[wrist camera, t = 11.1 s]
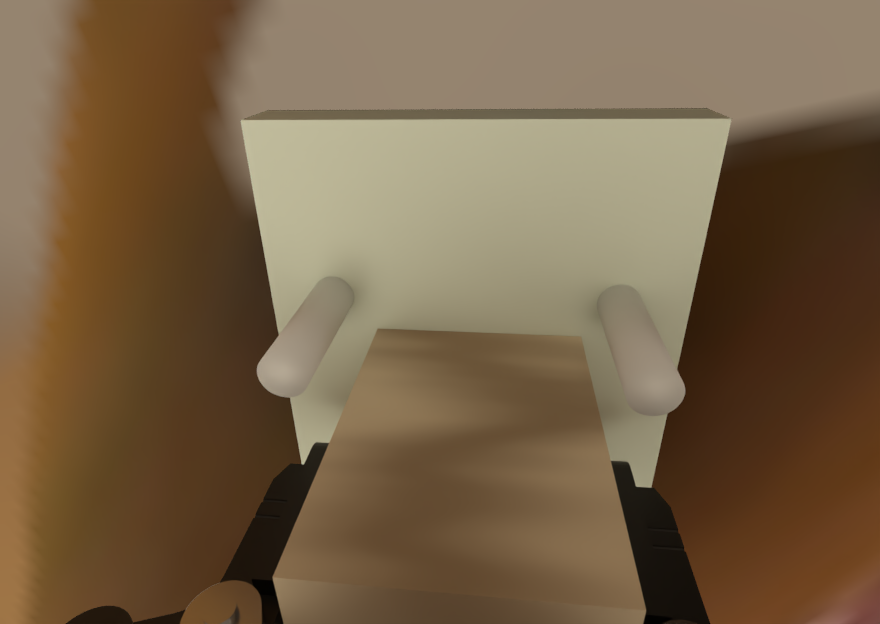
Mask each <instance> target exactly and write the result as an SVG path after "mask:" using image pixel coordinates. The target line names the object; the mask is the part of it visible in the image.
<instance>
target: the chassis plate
mask: <svg viewBox="0 0 880 624" xmlns="http://www.w3.org/2000/svg"><path fill="white" fill-rule="evenodd" d="M731 120H732V119H731V118H729V117H727V116H724V115H722V114H719V113H716V112H715V111H712V110H710V109H707V108H676V109H675V108H668V109H667V108H665V109H481V110H480V109H476V110H475V109H473V110H472V109H466V110H463V109H461V110H459V109H458V110H267V111H265V112H262V113H259V114H256V115H253V116H250V117H248V118H245V119H242V120H240V121H241V126H242V132H243V138H244V143H245V149H246V154H247V160H248V165H249V171H250V177H251V182H252V188H253V193H254V199H255V205H256V210H257V216H258V221H259V227H260V233H261V238H262V244H263V249H264V255H265V261H266V266H267V272H268V277H269V283H270V289H271V294H272V300H273V305H274V311H275V317H276V322H277V328H278V333H279V336H278V337H277V339H276V340H275V341H274V343H273V344H272V345H271V347H270V348H269V349H268V351H267V352H266V354H265V355H264V356H263V358H262V359H261V360H260V362H259V364H258V366H257V375H258V378H259V381H260V382H261V384H262V385H263V386H264V387H265V388H266V389H267V390H268V391H269V392H271V393H273V394H275V395H277V396H281V397H290V401H291V406H292V412H293V417H294V423H295V429H296V434H297V440H298V445H299V451H300V457H301V462H302V464H304V463H305V461H306V459H307V457H308V455H309V452H310V450H311V448H312V446H313V445H314V443H316V442H322V443H329V442H330V440H331V438H332V435H333V433H334V431H335V428H336V426H337V423H338V421H339V419H340V416H341V414H342V412H343V409H344V407H345V405H346V402H347V400H348V397H349V395H350V393H351V390H352V388H353V386H354V383H355V381H356V379H357V376H358V374H359V371H360V369H361V367H362V364H363V362H364V360H365V357H366V355H367V353H368V350H369V348H370V345H371V343H372V341H373V338H374V336H375V334H376V331H377V329H401V330H427V331H452V332H478V333H503V334H529V335H554V336H580V337H581V338H582V342H583V346H584V351H585V355H586V359H587V363H588V367H589V372H590V376H591V380H592V384H593V388H594V393H595V397H596V401H597V405H598V409H599V414H600V418H601V422H602V426H603V430H604V435H605V439H606V443H607V447H608V451H609V456H610V460H611V461H626V462H628V463H629V464H630V467H631V470H632V474H633V478H634V481H635V485H636V487H648V488H651V487H652V482H653V478H654V473H655V468H656V464H657V459H658V455H659V450H660V445H661V441H662V436H663V432H664V427H665V423H666V418H667V413H669V412H671V411H673V410H674V409H676V408H677V407H678V406H679V405H680V404H681V402H682V401H683V399H684V396H685V386H684V383H683V381H682V379H681V377H680V375H679V373H678V371H677V367H678V363H679V358H680V354H681V349H682V345H683V340H684V335H685V331H686V326H687V322H688V317H689V312H690V308H691V303H692V299H693V294H694V289H695V285H696V280H697V276H698V271H699V267H700V262H701V257H702V253H703V248H704V244H705V239H706V234H707V230H708V225H709V221H710V216H711V212H712V207H713V202H714V198H715V193H716V189H717V184H718V179H719V175H720V170H721V166H722V161H723V156H724V152H725V147H726V143H727V138H728V134H729V129H730V124H731Z"/></svg>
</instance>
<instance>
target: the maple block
mask: <svg viewBox="0 0 880 624" xmlns="http://www.w3.org/2000/svg"><path fill="white" fill-rule="evenodd" d="M272 578H273V582H274V586H275V590H276V594H277V599H278V603H279V607H280V611H281V615H282V619H283V623H284V624H643V622H644V618H645V614H646V607H645V603H644V598H643V594H642V590H641V586H640V582H639V577H638V573H637V569H636V565H635V561H634V556H633V552H632V548H631V544H630V540H629V535H628V531H627V527H626V523H625V519H624V514H623V510H622V506H621V502H620V498H619V493H618V489H617V485H616V481H615V477H614V472H613V468H612V464H611V460H610V456H609V451H608V447H607V443H606V439H605V435H604V430H603V426H602V422H601V418H600V414H599V409H598V405H597V401H596V397H595V393H594V388H593V384H592V380H591V376H590V372H589V367H588V363H587V359H586V355H585V351H584V346H583V342H582V338H581V337H580V336H554V335H529V334H503V333H478V332H452V331H427V330H401V329H377V331H376V334H375V336H374V338H373V341H372V343H371V345H370V348H369V350H368V353H367V355H366V357H365V360H364V362H363V364H362V367H361V369H360V371H359V374H358V376H357V379H356V381H355V383H354V386H353V388H352V390H351V393H350V395H349V397H348V400H347V402H346V405H345V407H344V409H343V412H342V414H341V416H340V419H339V421H338V423H337V426H336V428H335V431H334V433H333V435H332V438H331V440H330V442H329V445H328V447H327V450H326V452H325V454H324V457H323V459H322V461H321V464H320V466H319V468H318V471H317V473H316V476H315V478H314V480H313V483H312V485H311V487H310V490H309V492H308V494H307V497H306V499H305V502H304V504H303V506H302V509H301V511H300V513H299V516H298V518H297V520H296V523H295V525H294V528H293V530H292V532H291V535H290V537H289V539H288V542H287V544H286V547H285V549H284V551H283V554H282V556H281V558H280V561H279V563H278V565H277V568H276V570H275V573H274V575H273V577H272Z"/></svg>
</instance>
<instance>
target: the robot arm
mask: <svg viewBox="0 0 880 624" xmlns="http://www.w3.org/2000/svg"><path fill="white" fill-rule="evenodd" d="M328 445H329V443H322V442H316V443H314V445H313V446H312V448H311V450H310V452H309V455H308V457H307V459H306V461H305V463H304V464H290V465H288V466H287V467H286V468H285V469H284V470H283V471H282V472H281V473H280V474H279V475H278V476H277V477H276V478H274V479H273V481H272V483H271V485H270V487H269V489H268V491H267V493H266V495H265V497H264V501H263V502H262V503H261V505H260V506H259V508H258V510H257V512H256V516H255V518H253V520H252V522H251V524H250V526H249V528H248V530H247V532H246V534H245V536H244V538H243V540H242V542H241V543H240V545H239V547H238V549H237V551H236V553H235V555H234V557H233V559H232V561H231V563H230V565H229V567H228V569H227V571H226V573H225V575H224V577H223V578H222V580H221V582H220V583H218V584H215V585H213V586H211V587H209V588H208V589H206V590H204V591H203V592H202V593H200V594H199V595H198V596H197V597H196V598H195V599H194V600H193V601H192V602H191V603H190V604H189V606H188V607H187V609H186V610H183V611H181V612H177V613H174V614H169V615H165V616H160V617H156V618H152V619H147V620H143V621H138V622H134V623H133V621H132V619H131V617H130V615H129V614H128V612H126V611H125V610H124V609H122V608H120V607H116V606H102V607H97V608H94V609H91V610H88V611H86V612H84V613H82V614H80V615H78V616H76V617H75V618H73V619H72V620H70V621H69V622H67V623H66V624H284V623H283V619H282V615H281V611H280V607H279V603H278V599H277V594H276V590H275V586H274V582H273V578H272V577H273V575H274V573H275V570H276V568H277V565H278V563H279V561H280V558H281V556H282V554H283V551H284V549H285V547H286V544H287V542H288V539H289V537H290V535H291V532H292V530H293V528H294V525H295V523H296V520H297V518H298V516H299V513H300V511H301V509H302V506H303V504H304V502H305V499H306V497H307V494H308V492H309V490H310V487H311V485H312V483H313V480H314V478H315V476H316V473H317V471H318V468H319V466H320V464H321V461H322V459H323V457H324V454H325V452H326V450H327V447H328ZM611 464H612V468H613V472H614V477H615V481H616V485H617V489H618V493H619V498H620V502H621V506H622V510H623V514H624V519H625V523H626V527H627V531H628V535H629V540H630V544H631V548H632V552H633V556H634V561H635V565H636V569H637V573H638V577H639V582H640V586H641V590H642V594H643V598H644V603H645V607H646V614H645V618H644V622H643V624H710V622H709V619H708V616H707V613H706V610H705V607H704V604H703V601H702V598H701V595H700V593H699V590H698V587H697V584H696V581H695V578H694V575H693V572H692V569H691V566H690V563H689V560H688V557H687V554H686V552H684V545H683V543H682V540H681V537H680V534H678V528H677V525H676V522H675V519H674V516H673V513H672V510H671V507H670V506H669V505H668V504H667V503H666V501H665V500H664V499H663V498H662V497H661V495H660V494H659V493H658V492H657V491H656V490H655V488H648V487H636V485H635V481H634V478H633V474H632V470H631V467H630V464H629V463H628V462H626V461H611Z"/></svg>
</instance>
